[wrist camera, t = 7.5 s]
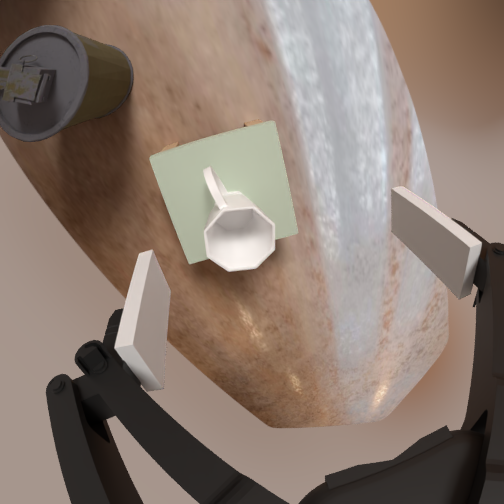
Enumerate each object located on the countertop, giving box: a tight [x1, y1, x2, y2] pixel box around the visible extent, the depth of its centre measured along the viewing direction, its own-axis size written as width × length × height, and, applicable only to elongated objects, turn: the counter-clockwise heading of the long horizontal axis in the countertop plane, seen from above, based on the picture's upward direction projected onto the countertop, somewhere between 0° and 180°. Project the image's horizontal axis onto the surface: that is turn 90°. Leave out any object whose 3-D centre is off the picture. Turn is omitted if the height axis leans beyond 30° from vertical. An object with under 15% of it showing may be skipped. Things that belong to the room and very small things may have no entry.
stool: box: [149, 119, 298, 264], centre depth 39 cm, size 14×14×8 cm
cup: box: [203, 166, 275, 272], centre depth 32 cm, size 7×10×8 cm
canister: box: [0, 25, 133, 142], centre depth 24 cm, size 11×10×20 cm
